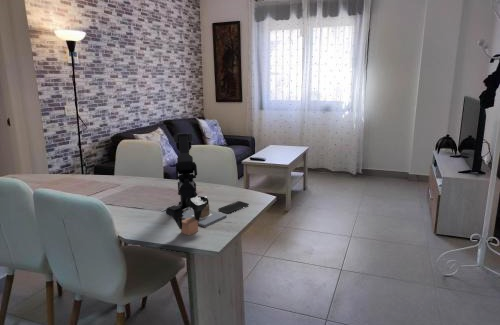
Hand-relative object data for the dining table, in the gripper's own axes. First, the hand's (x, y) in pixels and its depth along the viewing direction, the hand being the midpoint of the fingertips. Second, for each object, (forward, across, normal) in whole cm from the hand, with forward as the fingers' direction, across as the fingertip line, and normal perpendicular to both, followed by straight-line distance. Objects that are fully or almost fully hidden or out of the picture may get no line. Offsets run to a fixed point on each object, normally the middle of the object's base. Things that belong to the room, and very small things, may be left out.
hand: (189, 225), depth 147 cm
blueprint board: (+3, +14, +7) cm, 16 cm away
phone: (+3, +32, +3) cm, 32 cm away
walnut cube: (+2, +14, +7) cm, 16 cm away
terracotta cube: (+3, 0, 0) cm, 3 cm away
